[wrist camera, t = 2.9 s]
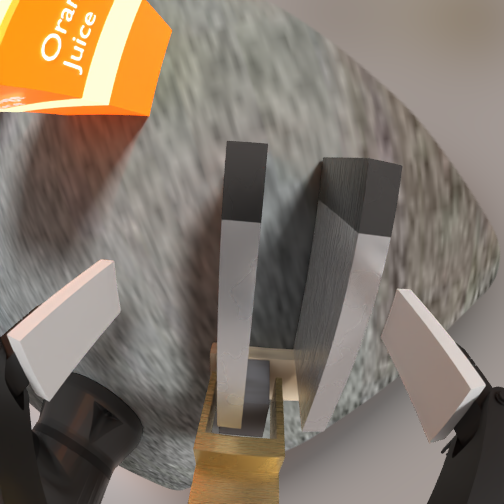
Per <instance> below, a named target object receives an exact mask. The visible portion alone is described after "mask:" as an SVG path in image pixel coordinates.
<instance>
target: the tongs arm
mask: <svg viewBox="0 0 504 504" xmlns="http://www.w3.org/2000/svg"><path fill="white" fill-rule="evenodd" d="M401 172H402V166H401V165H397V164H393V163H388V162H384V161H379V160H374V159H369V158H323V165H322V174H321V183H320V192H319V200H318V208H317V215H316V223H315V230H314V237H313V243H312V250H311V256H310V263H309V269H308V275H307V281H306V286H305V292H304V298H303V303H302V308H301V314H300V319H299V324H298V329H297V334H296V339H295V344H294V348H293V351H294V359H295V368H296V378H297V387H298V397H299V407H300V418H301V428H302V432H313V431H324V430H325V428H326V426H327V424H328V422H329V420H330V418H331V416H332V414H333V412H334V409H335V407H336V405H337V403H338V401H339V398H340V396H341V394H342V391H343V389H344V387H345V384H346V382H347V379H348V377H349V375H350V372H351V369H352V367H353V364H354V362H355V359H356V356H357V354H358V351H359V348H360V345H361V343H362V340H363V337H364V334H365V331H366V328H367V325H368V322H369V319H370V315H371V312H372V309H373V306H374V302H375V299H376V295H377V292H378V288H379V284H380V281H381V277H382V273H383V269H384V265H385V261H386V257H387V252H388V248H389V243H390V238H391V234H392V229H393V223H394V218H395V212H396V206H397V200H398V194H399V187H400V180H401Z"/></svg>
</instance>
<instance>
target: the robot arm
mask: <svg viewBox="0 0 504 504" xmlns="http://www.w3.org/2000/svg"><path fill="white" fill-rule="evenodd" d="M120 312H121V308H120V302H119V295H118V288H117V281H116V273H115V264H114V261H111V260H103V259H101V260H100V261H98V262H97V263H95V264H94V265H93V266H91V267H90V268H88V269H87V270H86V271H84V272H83V273H82V274H80V275H79V276H78V277H76V278H75V279H74V280H72V281H71V282H70V283H68V284H67V285H66V286H64V287H63V288H62V289H61V290H59V291H58V292H57V293H55V294H54V295H53V296H52V297H50V298H49V299H48V300H47V301H45V302H44V303H43V304H41V305H39V306H37V307H35V308H34V309H33V310H32V311H30V312H29V314H27V315H26V316H24V317H23V319H22V320H20V321H19V322H17V323H16V324H15V325H14V326H13V327H12V328H11V329H9V330H8V331H7V332H6V333H5V334H4V335H3V336H2V337H0V504H101V501H102V499H103V496H104V493H105V491H106V488H107V485H108V483H109V480H110V478H111V475H112V473H113V471H114V469H115V468H116V467H117V466H118V465H119V464H120V463H121V462H122V461H123V460H124V459H125V458H126V457H127V456H128V455H129V454H130V453H131V452H132V451H133V450H134V449H135V448H136V447H137V445H138V444H139V441H140V439H141V436H142V433H143V428H142V425H141V422H140V421H139V419H138V417H137V416H136V415H135V413H134V412H133V411H132V410H131V409H130V408H129V407H128V406H127V405H126V404H125V403H124V402H123V401H122V400H120V399H119V398H118V397H117V396H116V395H114V394H113V393H112V392H110V391H109V390H107V389H106V388H104V387H103V386H101V385H99V384H98V383H96V382H94V381H92V380H90V379H88V378H86V377H84V376H82V375H79V374H76V373H72V371H73V370H74V368H75V367H76V366H77V364H78V363H79V362H80V361H81V359H82V358H83V357H84V356H85V354H86V353H87V352H88V351H89V349H90V348H91V347H92V346H93V344H94V343H95V342H96V341H97V339H98V338H99V337H100V336H101V335H102V333H103V332H104V331H105V330H106V328H107V327H108V326H109V325H110V324H111V323H112V321H113V320H114V319H115V318H116V317H117V315H118V314H119V313H120ZM381 339H382V341H383V343H384V345H385V347H386V349H387V351H388V353H389V355H390V357H391V359H392V361H393V363H394V365H395V367H396V369H397V371H398V373H399V375H400V378H401V380H402V382H403V384H404V386H405V388H406V390H407V392H408V395H409V397H410V399H411V401H412V404H413V406H414V408H415V410H416V413H417V415H418V417H419V420H420V422H421V425H422V427H423V430H424V432H425V434H426V437H427V439H428V442H429V443H432V442H435V441H439V440H442V439H445V438H446V437H447V436H448V434H449V433H450V432H451V431H452V430H453V429H454V430H455V432H456V436H454V438H453V439H452V440H451V441H450V442H449V443H448V444H447V445H446V446H445V447H444V448H443V450H442V451H441V453H444V452H445V451H446V450H447V449H448V448H449V450H448V453H447V454H446V455H447V457H446V459H445V462H444V465H443V468H442V470H441V473H440V476H439V478H438V480H437V483H436V485H435V488H434V490H433V492H432V494H431V496H430V499H429V501H428V503H427V504H504V388H502V387H494V388H492V386H491V385H490V383H489V382H488V381H487V379H486V378H485V376H484V375H483V373H482V372H481V371H480V369H479V368H478V367H477V366H475V363H474V361H473V360H472V359H470V356H469V355H468V353H467V352H466V351H465V349H463V348H462V347H461V346H459V345H458V344H457V343H455V342H454V341H453V339H452V338H451V337H450V336H449V334H448V333H447V332H446V331H445V329H444V328H443V327H442V326H441V325H440V323H439V322H438V321H437V320H436V318H435V317H434V316H433V315H432V314H431V313H430V311H429V310H428V309H427V308H426V307H425V306H424V304H423V303H422V302H421V301H420V300H419V299H418V298H417V296H416V295H415V294H414V293H413V292H412V291H411V290H410V289H397V291H396V294H395V297H394V301H393V304H392V307H391V310H390V313H389V316H388V319H387V321H386V324H385V327H384V330H383V333H382V335H381ZM29 383H30V385H31V387H32V389H33V391H34V392H35V394H36V395H38V396H40V397H42V398H43V399H44V400H43V404H42V408H41V412H40V417H39V420H38V422H37V423H36V425H35V426H34V428H33V429H31V421H30V409H29V395H28V391H27V390H26V387H27V385H28V384H29Z"/></svg>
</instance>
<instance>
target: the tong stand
mask: <svg viewBox="0 0 504 504" xmlns="http://www.w3.org/2000/svg"><path fill="white" fill-rule="evenodd" d="M212 371H214V372H217V343H214V342H213V343H212V347H211V351H210V377H211V373H212ZM276 377H278V378H282V390H283V400H290V401H299V397H298V387H297V378H296V368H295V359H294V351H293V350H291V349H275V348H262V347H251V346H249V354H248V364H247V374H246V384H245V394H244V404H243V413H242V423H241V429H238V428H228V427H220V426H219V433H223V434H231V435H241V436H253V437H262V436H263V432H264V427H265V423H266V418H267V414H268V409H269V400H271V398H272V394H273V389H274V384H275V379H276Z"/></svg>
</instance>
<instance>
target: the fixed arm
mask: <svg viewBox="0 0 504 504" xmlns="http://www.w3.org/2000/svg"><path fill="white" fill-rule="evenodd" d="M267 149H268V144H264V143H252V142H236V141H227V146H226V160H225V174H224V189H223V205H222V223H221V243H220V266H219V295H218V335H217V426H220V427H228V428H238V429H241V423H242V413H243V404H244V394H245V384H246V374H247V364H248V354H249V344H250V334H251V323H252V313H253V303H254V292H255V282H256V271H257V260H258V250H259V239H260V228H261V217H262V206H263V195H264V183H265V172H266V161H267Z"/></svg>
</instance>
